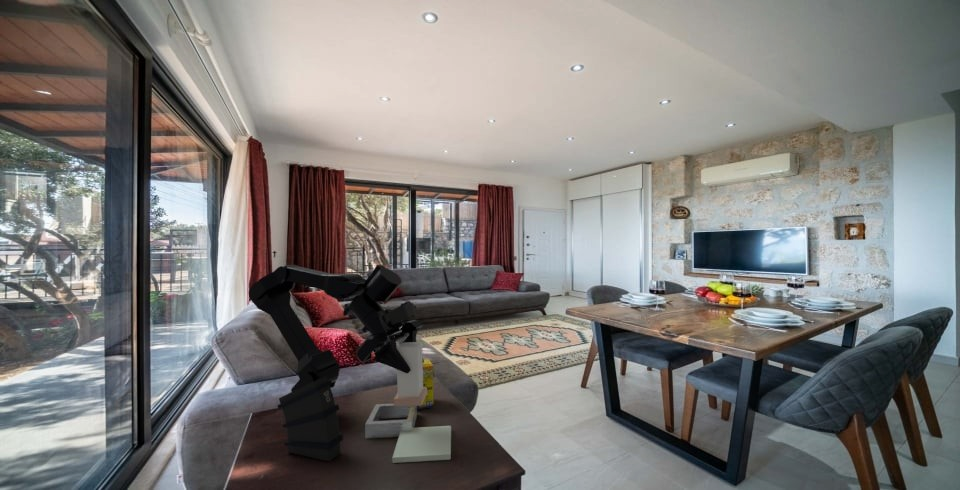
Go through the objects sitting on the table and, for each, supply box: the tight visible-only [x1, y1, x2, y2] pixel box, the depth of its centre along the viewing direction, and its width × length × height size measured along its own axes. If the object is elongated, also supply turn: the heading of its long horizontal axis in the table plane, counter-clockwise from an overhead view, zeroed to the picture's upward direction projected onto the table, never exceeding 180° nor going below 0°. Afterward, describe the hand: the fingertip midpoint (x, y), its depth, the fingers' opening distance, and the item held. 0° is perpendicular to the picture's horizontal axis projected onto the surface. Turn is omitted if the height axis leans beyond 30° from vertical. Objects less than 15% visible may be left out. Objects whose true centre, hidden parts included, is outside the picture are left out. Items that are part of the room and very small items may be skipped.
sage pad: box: [392, 425, 452, 464], centre depth 70 cm, size 11×11×1 cm
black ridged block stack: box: [277, 376, 344, 462], centre depth 68 cm, size 4×13×15 cm, turn 71°
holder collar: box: [364, 402, 418, 439], centre depth 79 cm, size 10×10×3 cm
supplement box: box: [417, 359, 434, 411], centre depth 90 cm, size 6×6×11 cm
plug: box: [393, 341, 427, 406], centre depth 75 cm, size 6×6×12 cm
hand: (416, 367), depth 75 cm, fingers closed on plug, 6 cm apart
